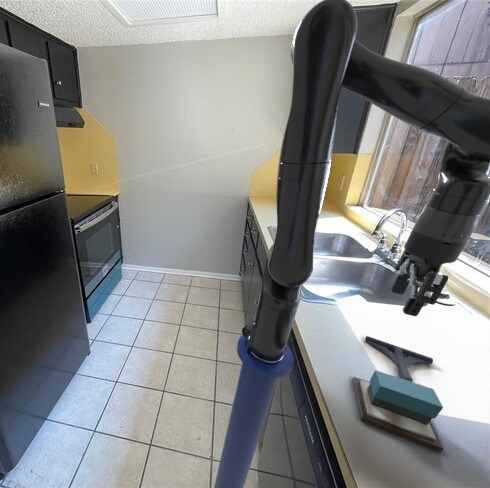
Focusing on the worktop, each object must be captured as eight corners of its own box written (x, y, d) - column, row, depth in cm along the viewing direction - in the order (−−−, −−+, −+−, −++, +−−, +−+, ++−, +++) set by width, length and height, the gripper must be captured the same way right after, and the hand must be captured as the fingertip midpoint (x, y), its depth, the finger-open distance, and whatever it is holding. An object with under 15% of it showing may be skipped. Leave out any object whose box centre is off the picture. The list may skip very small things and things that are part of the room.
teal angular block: (369, 404, 56) (380, 385, 53) (365, 388, 60) (375, 369, 57) (429, 426, 52) (443, 407, 50) (420, 407, 56) (433, 388, 53)
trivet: (360, 420, 54) (363, 415, 54) (352, 379, 64) (354, 374, 63) (441, 452, 50) (445, 447, 49) (418, 403, 59) (422, 397, 58)
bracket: (368, 374, 65) (372, 366, 64) (364, 338, 77) (368, 331, 76) (446, 406, 58) (452, 398, 57) (428, 361, 70) (433, 354, 69)
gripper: (402, 218, 56) (373, 282, 62) (429, 241, 44) (390, 316, 51) (448, 225, 53) (412, 291, 59) (489, 251, 41) (439, 329, 48)
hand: (402, 302), depth 55 cm, fingers open, 8 cm apart
